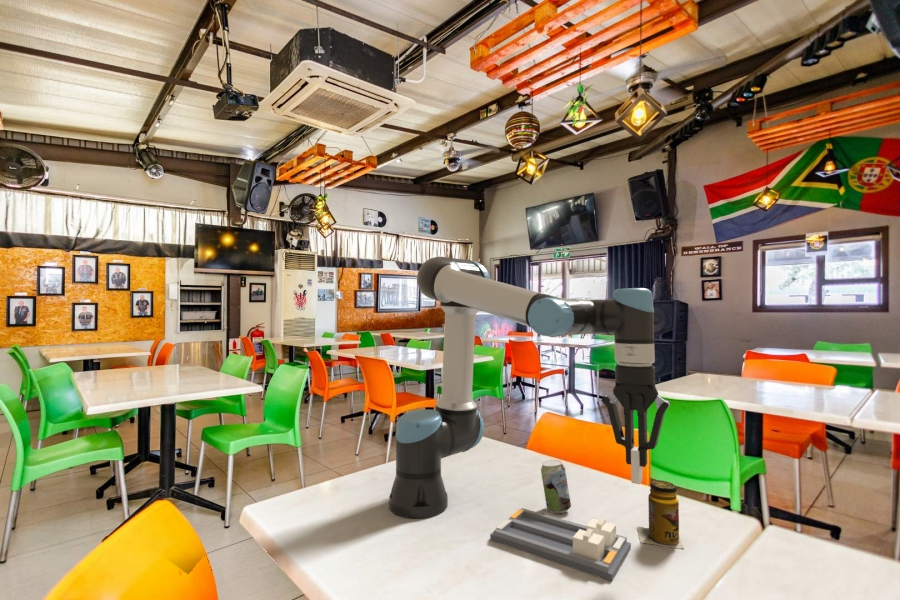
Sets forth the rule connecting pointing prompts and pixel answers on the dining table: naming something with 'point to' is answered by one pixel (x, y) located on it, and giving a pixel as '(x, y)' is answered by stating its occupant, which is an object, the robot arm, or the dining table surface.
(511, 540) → the switch bank
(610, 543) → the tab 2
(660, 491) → the condiment
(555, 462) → the beverage can
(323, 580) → the dining table surface
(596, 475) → the dining table surface
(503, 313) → the robot arm
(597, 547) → the tab
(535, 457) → the dining table surface
